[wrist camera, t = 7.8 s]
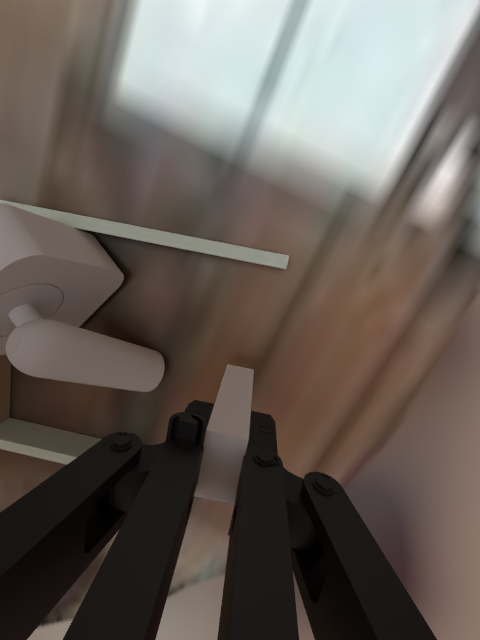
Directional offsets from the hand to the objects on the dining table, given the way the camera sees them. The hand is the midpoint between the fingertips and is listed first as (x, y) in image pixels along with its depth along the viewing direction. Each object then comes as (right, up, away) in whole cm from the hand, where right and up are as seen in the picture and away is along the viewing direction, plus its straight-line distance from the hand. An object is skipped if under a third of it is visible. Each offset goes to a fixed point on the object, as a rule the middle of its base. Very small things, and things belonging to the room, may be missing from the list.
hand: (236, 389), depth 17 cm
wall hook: (-9, +4, +6) cm, 12 cm away
